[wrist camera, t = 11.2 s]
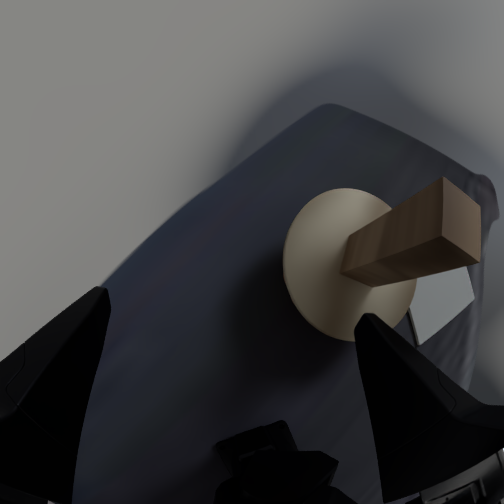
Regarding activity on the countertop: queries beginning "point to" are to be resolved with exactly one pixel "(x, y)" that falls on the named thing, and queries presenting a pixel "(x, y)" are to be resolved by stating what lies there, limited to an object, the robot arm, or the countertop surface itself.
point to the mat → (439, 301)
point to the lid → (374, 252)
